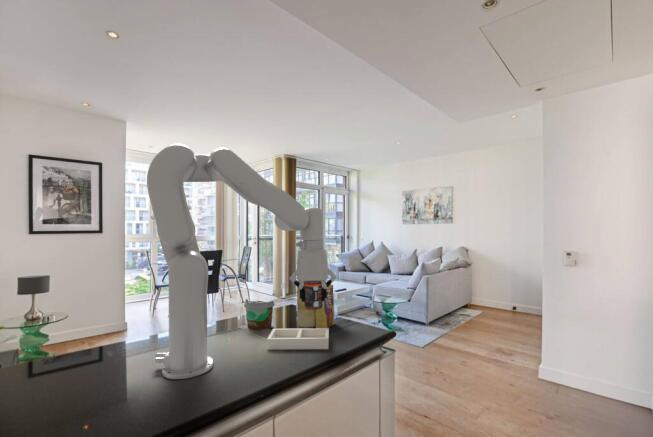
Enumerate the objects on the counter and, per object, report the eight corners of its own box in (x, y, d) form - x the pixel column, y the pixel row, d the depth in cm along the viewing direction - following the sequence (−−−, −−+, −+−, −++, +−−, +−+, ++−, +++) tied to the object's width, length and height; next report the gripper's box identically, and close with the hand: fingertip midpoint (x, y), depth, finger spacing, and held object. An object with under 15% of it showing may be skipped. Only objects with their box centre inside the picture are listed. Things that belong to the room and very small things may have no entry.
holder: (267, 349, 97) (267, 339, 97) (273, 338, 107) (273, 328, 107) (328, 349, 96) (328, 338, 96) (328, 337, 106) (328, 328, 106)
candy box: (324, 322, 123) (324, 283, 124) (334, 323, 121) (334, 284, 122) (314, 329, 115) (314, 287, 116) (325, 330, 113) (324, 288, 114)
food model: (321, 326, 118) (321, 273, 119) (308, 330, 114) (307, 275, 114) (305, 321, 125) (305, 271, 126) (292, 325, 121) (291, 273, 121)
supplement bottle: (321, 310, 98) (320, 274, 99) (303, 310, 99) (302, 274, 99) (323, 305, 104) (322, 271, 105) (306, 305, 105) (305, 272, 105)
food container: (237, 329, 117) (237, 302, 117) (246, 324, 122) (246, 298, 123) (267, 332, 113) (267, 304, 113) (274, 326, 119) (274, 300, 119)
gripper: (284, 247, 99) (285, 304, 98) (338, 245, 98) (340, 303, 98) (287, 245, 106) (288, 298, 106) (338, 244, 106) (339, 297, 105)
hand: (313, 300), depth 102 cm, fingers closed on supplement bottle, 6 cm apart
